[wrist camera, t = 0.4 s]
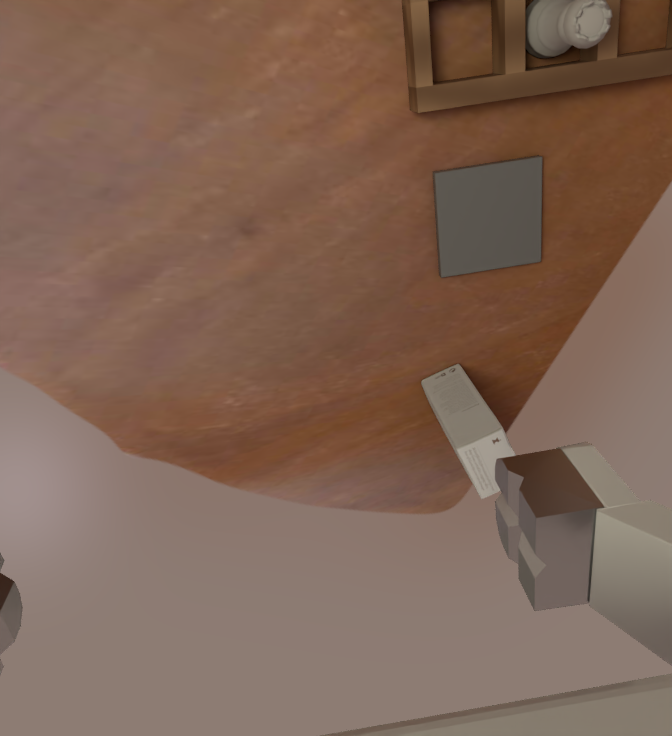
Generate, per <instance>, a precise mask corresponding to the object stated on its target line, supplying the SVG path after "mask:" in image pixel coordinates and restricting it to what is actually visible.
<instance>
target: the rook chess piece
mask: <svg viewBox="0 0 672 736" xmlns="http://www.w3.org/2000/svg"><path fill="white" fill-rule="evenodd" d="M611 17H612V10H611V9H610V7H609V5H608V4H607V2H606V0H534V1H533V2H532V3H531V4H530V5H529V6H528V7H527V9H526V11H525V48H526V49H527V51H528V52H529V53H530V54H532V55H534V56H536V57H538V58H551V57H555V56H558V55H560V54H562V53H565V52H566V51H567V50H568V49H569V48H570V47H571V46H572V45H573V46H575V47H577V48H584V49H587V48H590V47H592V46H594V45H596V44H597V43H599V42H600V41H601V40H602V39H603V38H604V36H605V34H606V33H607V32H608V30H609V28H610V27H611V25H610V20H611Z"/></svg>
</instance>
